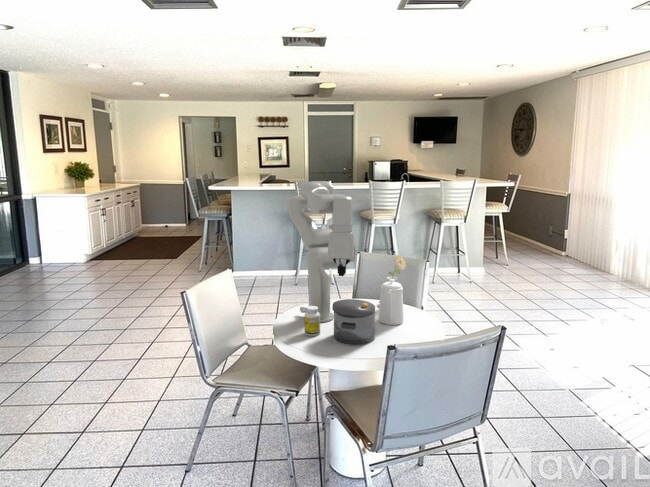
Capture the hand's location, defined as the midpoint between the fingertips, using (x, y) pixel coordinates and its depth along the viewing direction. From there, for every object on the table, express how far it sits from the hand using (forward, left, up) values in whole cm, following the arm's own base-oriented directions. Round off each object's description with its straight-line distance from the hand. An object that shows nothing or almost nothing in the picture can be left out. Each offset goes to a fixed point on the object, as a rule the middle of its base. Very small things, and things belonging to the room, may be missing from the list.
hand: (341, 275), depth 184 cm
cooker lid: (+5, 0, -13) cm, 14 cm away
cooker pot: (+5, 0, -25) cm, 25 cm away
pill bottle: (-12, -1, -25) cm, 28 cm away
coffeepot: (+16, +22, -25) cm, 37 cm away
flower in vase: (+13, +45, -25) cm, 53 cm away
